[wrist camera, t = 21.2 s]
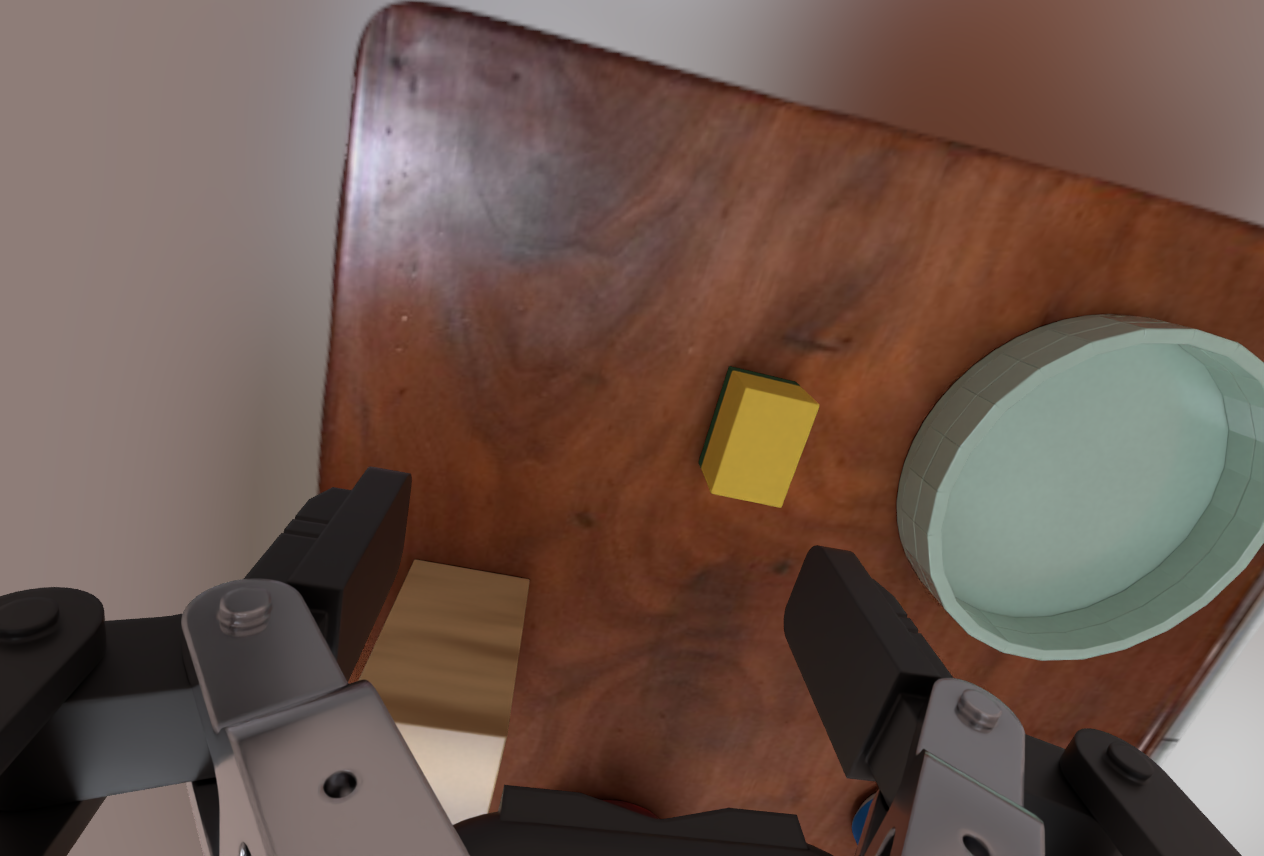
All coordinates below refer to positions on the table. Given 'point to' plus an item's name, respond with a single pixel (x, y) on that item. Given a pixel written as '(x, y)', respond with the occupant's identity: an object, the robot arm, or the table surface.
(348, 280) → the table surface
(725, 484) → the sponge
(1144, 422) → the bowl
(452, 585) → the sponge stand
